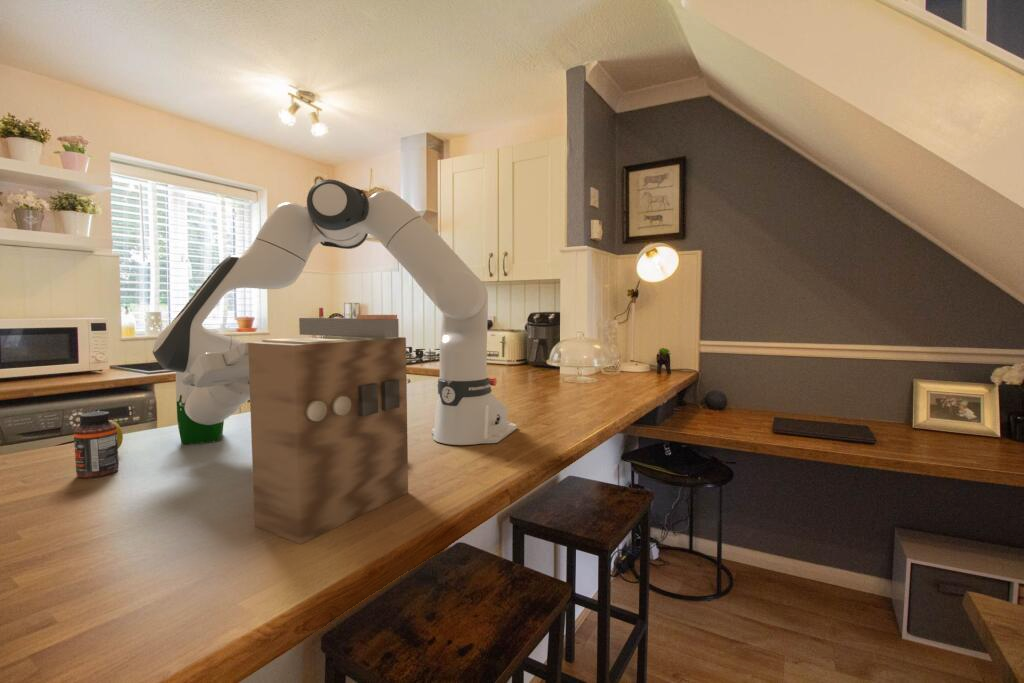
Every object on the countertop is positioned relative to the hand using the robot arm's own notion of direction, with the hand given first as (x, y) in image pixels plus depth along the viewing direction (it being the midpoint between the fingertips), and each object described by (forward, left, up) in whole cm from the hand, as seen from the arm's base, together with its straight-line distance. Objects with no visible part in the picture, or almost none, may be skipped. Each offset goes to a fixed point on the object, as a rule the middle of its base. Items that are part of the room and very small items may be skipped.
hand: (274, 344), depth 85 cm
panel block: (+4, +22, -24) cm, 33 cm away
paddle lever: (-1, +19, +2) cm, 19 cm away
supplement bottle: (+16, -29, -24) cm, 42 cm away
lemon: (+11, -40, -24) cm, 48 cm away
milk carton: (-6, -37, -24) cm, 45 cm away
